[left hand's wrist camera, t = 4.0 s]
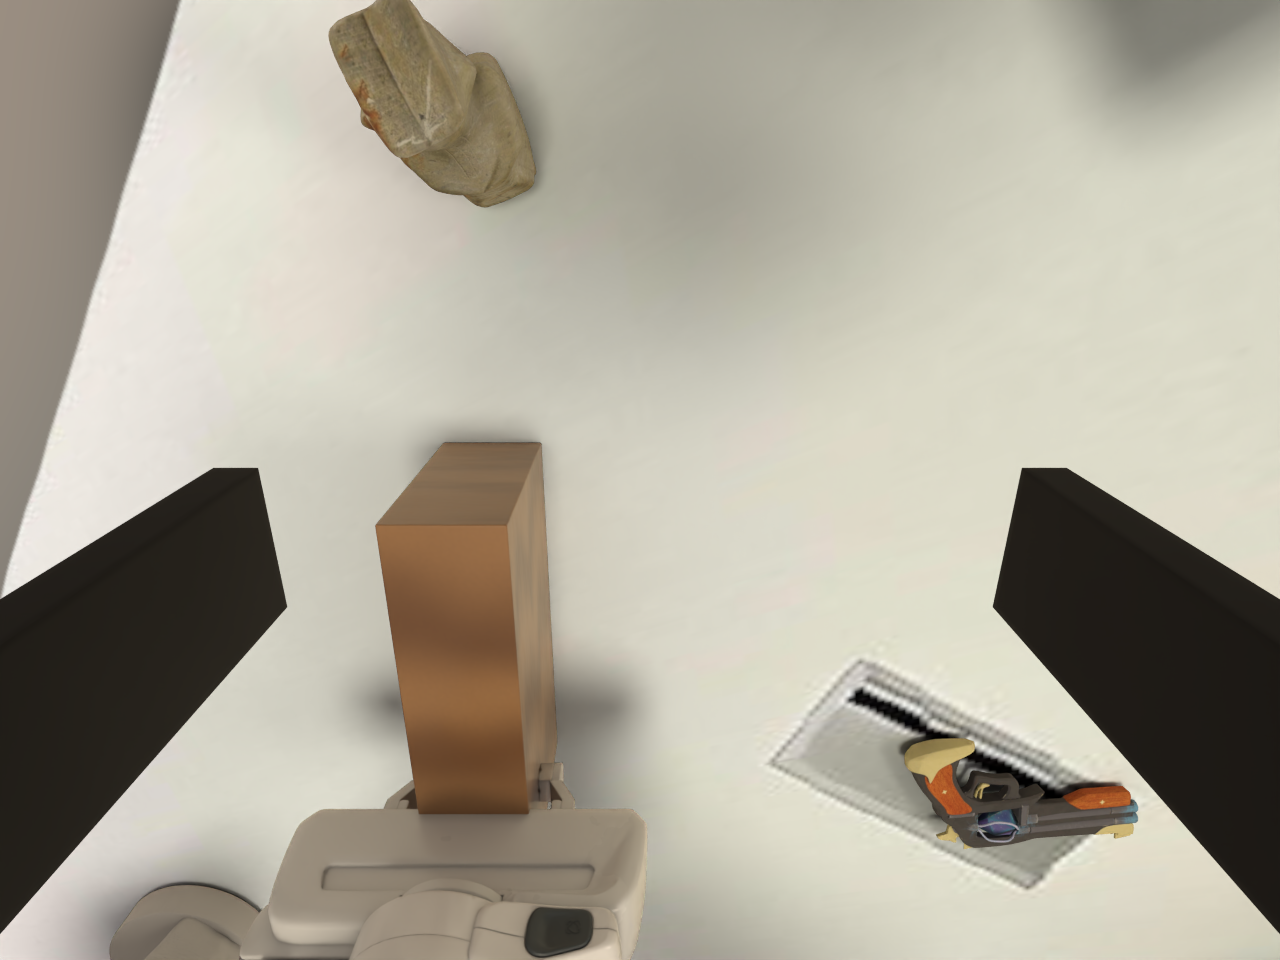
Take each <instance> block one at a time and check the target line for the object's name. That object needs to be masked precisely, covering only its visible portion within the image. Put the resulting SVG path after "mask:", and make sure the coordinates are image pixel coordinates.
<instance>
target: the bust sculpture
mask: <svg viewBox="0 0 1280 960" xmlns="http://www.w3.org/2000/svg"><path fill="white" fill-rule="evenodd" d="M258 914H259V912H258V911H257V910H256V909H255V908H253V907H252V906H251V905H249V904H248V903H246V902H245V901H243V900H241V899H240V898H238V897H236V896H234V895H231V894H229V893H226V892H224V891H221V890H217V889H214V888H209V887H204V886H195V885H178V886H170V887H166V888H162V889H159V890H156V891H154V892H152V893H150V894H148V895H146V896H145V897H143V898H142V899H141V900H140V901H139V902H138V903H137V904H136V905H135V907H134V908H133V910H132V911H131V912H130V914H129V915H128V916H127V918H126V919H125V921H124V922H123V923H122V925H121V926H120V928H119V929H118V930H117V932H116V933H115V935H114V936H113V938H112V941H111V944H110V960H239V953H240V948H241V945H242V943H243V941H244V939H245V937H246V935H247V933H248V931H249V929H250V928H251V926H252V924H253V922H254V920H255V918H256V917H257V915H258Z"/></svg>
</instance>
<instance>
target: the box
mask: <svg viewBox="0 0 1280 960" xmlns="http://www.w3.org/2000/svg"><path fill="white" fill-rule="evenodd" d="M375 527H376V534H377V540H378V547H379V554H380V560H381V567H382V574H383V580H384V587H385V594H386V600H387V607H388V614H389V620H390V627H391V634H392V640H393V647H394V654H395V660H396V667H397V674H398V680H399V687H400V694H401V700H402V707H403V713H404V720H405V727H406V733H407V740H408V747H409V753H410V760H411V767H412V773H413V780H414V787H415V793H416V800H417V807H418V813H419V814H529V811H530V809H547V805H548V802H541V801H539V789H538V777H539V772H540V766H541V763H554V760H555V754H556V747H557V727H556V709H555V690H554V671H553V653H552V634H551V615H550V596H549V578H548V559H547V540H546V521H545V503H544V484H543V465H542V446H541V443H443V444H442V445H441V447H440V448H439V449H438V450H437V451H436V453H435V454H434V455H433V456H432V458H431V459H430V460H429V461H428V462H427V464H426V465H425V466H424V467H423V468H422V470H421V471H420V472H419V473H418V474H417V476H416V477H415V478H414V479H413V480H412V482H411V483H410V484H409V485H408V486H407V488H406V489H405V490H404V491H403V493H402V494H401V495H400V496H399V497H398V499H397V500H396V501H395V502H394V503H393V505H392V506H391V507H390V508H389V509H388V511H387V512H386V513H385V514H384V515H383V517H382V518H381V519H380V520H379V522H378V523H377V524H376V526H375Z"/></svg>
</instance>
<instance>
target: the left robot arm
mask: <svg viewBox="0 0 1280 960" xmlns="http://www.w3.org/2000/svg"><path fill="white" fill-rule="evenodd" d="M286 608H287V604H286V599H285V594H284V589H283V585H282V580H281V575H280V570H279V566H278V561H277V556H276V551H275V547H274V542H273V537H272V532H271V528H270V523H269V518H268V513H267V508H266V504H265V499H264V494H263V489H262V485H261V480H260V475H259V470H258V468H213V469H211V470H209V471H208V472H206V473H204V474H203V475H201V476H200V477H198V478H196V479H195V480H193V481H191V482H190V483H188V484H187V485H185V486H183V487H182V488H180V489H178V490H177V491H175V492H174V493H172V494H170V495H169V496H167V497H165V498H164V499H162V500H161V501H159V502H157V503H156V504H154V505H153V506H151V507H149V508H148V509H146V510H144V511H143V512H141V513H140V514H138V515H136V516H135V517H133V518H131V519H130V520H128V521H127V522H125V523H123V524H122V525H120V526H118V527H117V528H115V529H114V530H112V531H110V532H109V533H107V534H105V535H104V536H102V537H101V538H99V539H97V540H96V541H94V542H92V543H91V544H89V545H88V546H86V547H84V548H83V549H81V550H79V551H78V552H76V553H75V554H73V555H71V556H70V557H68V558H67V559H65V560H63V561H62V562H60V563H58V564H57V565H55V566H54V567H52V568H50V569H49V570H47V571H45V572H44V573H42V574H41V575H39V576H37V577H36V578H34V579H32V580H31V581H29V582H28V583H26V584H24V585H23V586H21V587H19V588H18V589H16V590H15V591H13V592H11V593H10V594H8V595H6V596H5V597H3V598H2V599H0V934H1V932H2V931H3V930H4V929H5V928H6V927H7V926H8V924H9V923H10V922H11V921H12V920H13V919H14V918H15V916H16V915H17V914H18V913H19V912H20V911H21V910H22V908H23V907H24V906H25V905H26V904H27V903H28V902H29V901H30V899H31V898H32V897H33V896H34V895H35V894H36V893H37V891H38V890H39V889H40V888H41V887H42V886H43V885H44V883H45V882H46V881H47V880H48V879H49V878H50V877H51V875H52V874H53V873H54V872H55V871H56V870H57V869H58V867H59V866H60V865H61V864H62V863H63V862H64V861H65V860H66V858H67V857H68V856H69V855H70V854H71V853H72V852H73V850H74V849H75V848H76V847H77V846H78V845H79V844H80V842H81V841H82V840H83V839H84V838H85V837H86V836H87V834H88V833H89V832H90V831H91V830H92V829H93V828H94V826H95V825H96V824H97V823H98V822H99V821H100V820H101V819H102V817H103V816H104V815H105V814H106V813H107V812H108V811H109V809H110V808H111V807H112V806H113V805H114V804H115V803H116V801H117V800H118V799H119V798H120V797H121V796H122V795H123V793H124V792H125V791H126V790H127V789H128V788H129V787H130V785H131V784H132V783H133V782H134V781H135V780H136V779H137V777H138V776H139V775H140V774H141V773H142V772H143V771H144V770H145V768H146V767H147V766H148V765H149V764H150V763H151V762H152V760H153V759H154V758H155V757H156V756H157V755H158V754H159V752H160V751H161V750H162V749H163V748H164V747H165V746H166V744H167V743H168V742H169V741H170V740H171V739H172V738H173V736H174V735H175V734H176V733H177V732H178V731H179V730H180V729H181V727H182V726H183V725H184V724H185V723H186V722H187V721H188V719H189V718H190V717H191V716H192V715H193V714H194V713H195V711H196V710H197V709H198V708H199V707H200V706H201V705H202V703H203V702H204V701H205V700H206V699H207V698H208V697H209V695H210V694H211V693H212V692H213V691H214V690H215V689H216V688H217V686H218V685H219V684H220V683H221V682H222V681H223V680H224V678H225V677H226V676H227V675H228V674H229V673H230V672H231V670H232V669H233V668H234V667H235V666H236V665H237V664H238V662H239V661H240V660H241V659H242V658H243V657H244V656H245V654H246V653H247V652H248V651H249V650H250V649H251V648H252V647H253V645H254V644H255V643H256V642H257V641H258V640H259V639H260V637H261V636H262V635H263V634H264V633H265V632H266V631H267V629H268V628H269V627H270V626H271V625H272V624H273V623H274V621H275V620H276V619H277V618H278V617H279V616H280V615H281V613H282V612H283V611H284V610H285V609H286ZM993 608H994V609H995V610H996V611H997V612H998V613H999V615H1000V616H1001V617H1002V618H1003V619H1004V620H1005V621H1006V623H1007V624H1008V625H1009V626H1010V627H1011V628H1012V629H1013V631H1014V632H1015V633H1016V634H1017V635H1018V636H1019V637H1020V639H1021V640H1022V641H1023V642H1024V643H1025V644H1026V645H1027V647H1028V648H1029V649H1030V650H1031V651H1032V652H1033V653H1034V654H1035V656H1036V657H1037V658H1038V659H1039V660H1040V661H1041V662H1042V664H1043V665H1044V666H1045V667H1046V668H1047V669H1048V670H1049V672H1050V673H1051V674H1052V675H1053V676H1054V677H1055V678H1056V680H1057V681H1058V682H1059V683H1060V684H1061V685H1062V686H1063V688H1064V689H1065V690H1066V691H1067V692H1068V693H1069V694H1070V695H1071V697H1072V698H1073V699H1074V700H1075V701H1076V702H1077V703H1078V705H1079V706H1080V707H1081V708H1082V709H1083V710H1084V711H1085V713H1086V714H1087V715H1088V716H1089V717H1090V718H1091V719H1092V721H1093V722H1094V723H1095V724H1096V725H1097V726H1098V727H1099V729H1100V730H1101V731H1102V732H1103V733H1104V734H1105V735H1106V736H1107V738H1108V739H1109V740H1110V741H1111V742H1112V743H1113V744H1114V746H1115V747H1116V748H1117V749H1118V750H1119V751H1120V752H1121V754H1122V755H1123V756H1124V757H1125V758H1126V759H1127V760H1128V762H1129V763H1130V764H1131V765H1132V766H1133V767H1134V768H1135V770H1136V771H1137V772H1138V773H1139V774H1140V775H1141V776H1142V778H1143V779H1144V780H1145V781H1146V782H1147V783H1148V784H1149V785H1150V787H1151V788H1152V789H1153V790H1154V791H1155V792H1156V793H1157V795H1158V796H1159V797H1160V798H1161V799H1162V800H1163V801H1164V803H1165V804H1166V805H1167V806H1168V807H1169V808H1170V809H1171V811H1172V812H1173V813H1174V814H1175V815H1176V816H1177V817H1178V819H1179V820H1180V821H1181V822H1182V823H1183V824H1184V825H1185V826H1186V828H1187V829H1188V830H1189V831H1190V832H1191V833H1192V834H1193V836H1194V837H1195V838H1196V839H1197V840H1198V841H1199V842H1200V844H1201V845H1202V846H1203V847H1204V848H1205V849H1206V850H1207V852H1208V853H1209V854H1210V855H1211V856H1212V857H1213V858H1214V860H1215V861H1216V862H1217V863H1218V864H1219V865H1220V866H1221V867H1222V869H1223V870H1224V871H1225V872H1226V873H1227V874H1228V875H1229V877H1230V878H1231V879H1232V880H1233V881H1234V882H1235V883H1236V885H1237V886H1238V887H1239V888H1240V889H1241V890H1242V891H1243V893H1244V894H1245V895H1246V896H1247V897H1248V898H1249V899H1250V901H1251V902H1252V903H1253V904H1254V905H1255V906H1256V907H1257V908H1258V910H1259V911H1260V912H1261V913H1262V914H1263V915H1264V916H1265V918H1266V919H1267V920H1268V921H1269V922H1270V923H1271V924H1272V926H1273V927H1274V928H1275V929H1276V930H1277V931H1278V932H1279V934H1280V599H1278V598H1277V597H1275V596H1274V595H1272V594H1270V593H1269V592H1267V591H1265V590H1264V589H1262V588H1261V587H1259V586H1257V585H1256V584H1254V583H1252V582H1251V581H1249V580H1248V579H1246V578H1244V577H1243V576H1241V575H1239V574H1238V573H1236V572H1235V571H1233V570H1231V569H1230V568H1228V567H1226V566H1225V565H1223V564H1222V563H1220V562H1218V561H1217V560H1215V559H1213V558H1212V557H1210V556H1209V555H1207V554H1205V553H1204V552H1202V551H1201V550H1199V549H1197V548H1196V547H1194V546H1192V545H1191V544H1189V543H1188V542H1186V541H1184V540H1183V539H1181V538H1179V537H1178V536H1176V535H1175V534H1173V533H1171V532H1170V531H1168V530H1166V529H1165V528H1163V527H1162V526H1160V525H1158V524H1157V523H1155V522H1153V521H1152V520H1150V519H1149V518H1147V517H1145V516H1144V515H1142V514H1140V513H1139V512H1137V511H1136V510H1134V509H1132V508H1131V507H1129V506H1127V505H1126V504H1124V503H1123V502H1121V501H1119V500H1118V499H1116V498H1114V497H1113V496H1111V495H1110V494H1108V493H1106V492H1105V491H1103V490H1102V489H1100V488H1098V487H1097V486H1095V485H1093V484H1092V483H1090V482H1089V481H1087V480H1085V479H1084V478H1082V477H1080V476H1079V475H1077V474H1076V473H1074V472H1072V471H1071V470H1069V469H1067V468H1022V470H1021V475H1020V480H1019V485H1018V489H1017V494H1016V499H1015V504H1014V508H1013V513H1012V518H1011V523H1010V528H1009V532H1008V537H1007V542H1006V547H1005V551H1004V556H1003V561H1002V566H1001V570H1000V575H999V580H998V585H997V589H996V594H995V599H994V604H993Z"/></svg>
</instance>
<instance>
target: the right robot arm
mask: <svg viewBox="0 0 1280 960" xmlns="http://www.w3.org/2000/svg"><path fill="white" fill-rule="evenodd" d="M538 789H539V801H541V802H551V803H552V804H551V809H530V811H529V814H419V813H418V807H417V800H416V793H415V787H414V781H411V782H409V783H408V784H407V785H406V786H404V787H403V788H402V789H400V790H399V791H398V792H397V793H395V794H394V795H393V796H391V797H390V798H389V799H388V800H387V802H386V804H385V807H384V809H323V810H319V811H318V812H316V813H314V814H313V815H311V816H310V817H308V818H307V819H305V820H304V821H303V822H301V823H300V825H299V826H298V828H297V830H296V831H295V833H294V836H293V838H292V840H291V842H290V844H289V846H288V849H287V851H286V853H285V856H284V858H283V861H282V863H281V866H280V869H279V871H278V874H277V877H276V880H275V883H274V886H273V890H272V893H271V897H270V901H269V904H268V905H267V906H266V907H265V908H264V909H263V910H262V911H261V912H260V913H259V914H258V915H257V917H256V918H255V920H254V922H253V924H252V926H251V928H250V929H249V931H248V933H247V935H246V937H245V939H244V941H243V943H242V945H241V948H240V953H239V960H630V959H631V957H632V955H633V953H634V950H635V947H636V944H637V941H638V936H639V931H640V926H641V920H642V914H643V907H644V899H645V889H646V871H647V824H646V822H645V821H644V820H643V819H642V818H641V817H640V816H639V815H638V814H637V813H636V812H635V811H634V810H632V809H575V799H574V798H573V796H572V795H571V793H570V792H569V790H568V789H567V787H566V786H565V784H564V783H563V763H541V766H540V772H539V777H538Z"/></svg>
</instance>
